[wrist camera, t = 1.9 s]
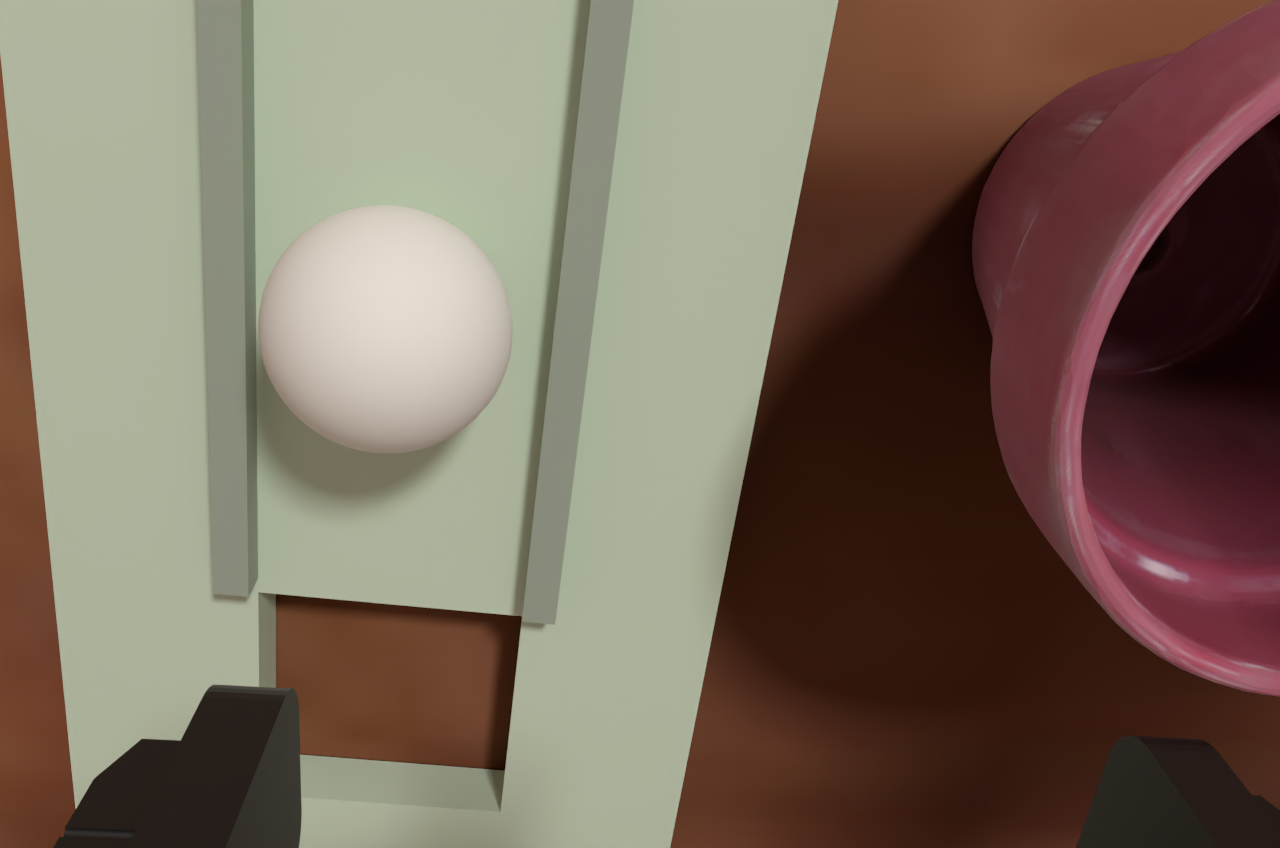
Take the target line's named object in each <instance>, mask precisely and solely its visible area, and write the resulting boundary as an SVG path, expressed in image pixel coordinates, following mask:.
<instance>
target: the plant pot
mask: <svg viewBox="0 0 1280 848" xmlns="http://www.w3.org/2000/svg"><path fill="white" fill-rule="evenodd" d="M972 264H973V271H974V278H975V283H976V287H977V291H978V294H979V296H980V299H981V301H982V304H983V307H984V311H985V314H986V317H987V321H988V324H989V327H990V331H991V334H992V338H993V346H992V356H991V370H990V388H991V402H992V414H993V419H994V425H995V430H996V435H997V439H998V443H999V447H1000V451H1001V455H1002V458H1003V461H1004V464H1005V467H1006V469H1007V472H1008V474H1009V477H1010V479H1011V481H1012V483H1013V485H1014V488H1015V490H1016V492H1017V494H1018V495H1019V497H1020V499H1021V501H1022V502H1023V504H1024V506H1025V508H1026V509H1027V511H1028V513H1029V515H1030V516H1031V517H1032V519H1033V520H1034V522H1035V523H1036V525H1037V526H1038V528H1039V529H1040V530H1041V532H1042V533H1043V535H1044V536H1045V538H1046V539H1047V540H1048V542H1049V543H1050V545H1051V546H1052V547H1053V548H1054V550H1055V551H1056V552H1057V553H1058V555H1059V556H1060V557H1061V558H1062V560H1063V561H1064V562H1065V563H1066V565H1067V566H1068V567H1069V569H1070V570H1071V571H1072V572H1073V574H1074V575H1075V576H1076V577H1077V579H1078V580H1079V581H1080V582H1081V584H1082V585H1083V586H1084V587H1085V589H1086V590H1087V591H1088V592H1089V593H1090V594H1091V596H1092V597H1093V598H1094V599H1095V600H1096V601H1097V602H1098V604H1099V605H1100V606H1101V607H1102V608H1103V609H1104V610H1105V612H1106V613H1107V614H1108V615H1109V616H1110V617H1111V618H1112V620H1113V621H1114V622H1115V623H1116V624H1118V625H1119V626H1120V627H1121V628H1122V629H1123V630H1124V631H1125V632H1126V633H1127V634H1129V635H1130V636H1131V637H1132V638H1134V639H1135V640H1136V641H1137V642H1139V643H1140V644H1141V645H1143V646H1144V647H1146V648H1147V649H1148V650H1150V651H1151V652H1153V653H1154V654H1156V655H1157V656H1159V657H1161V658H1162V659H1164V660H1166V661H1168V662H1169V663H1171V664H1173V665H1175V666H1177V667H1178V668H1180V669H1182V670H1185V671H1187V672H1189V673H1192V674H1194V675H1196V676H1199V677H1201V678H1204V679H1207V680H1209V681H1212V682H1214V683H1217V684H1221V685H1224V686H1228V687H1231V688H1235V689H1238V690H1242V691H1246V692H1252V693H1257V694H1262V695H1270V696H1278V697H1280V0H1275V1H1273V2H1270V3H1268V4H1266V5H1264V6H1261V7H1259V8H1257V9H1255V10H1253V11H1251V12H1249V13H1247V14H1245V15H1243V16H1241V17H1239V18H1236V19H1234V20H1232V21H1231V22H1229V23H1227V24H1225V25H1224V26H1222V27H1220V28H1218V29H1217V30H1215V31H1213V32H1212V33H1210V34H1208V35H1207V36H1205V37H1203V38H1202V39H1200V40H1198V41H1197V42H1195V43H1193V44H1192V45H1190V46H1189V47H1188V48H1186V49H1185V50H1183V51H1180V52H1176V53H1172V54H1169V55H1165V56H1162V57H1158V58H1154V59H1150V60H1147V61H1143V62H1139V63H1135V64H1130V65H1125V66H1121V67H1118V68H1115V69H1112V70H1108V71H1105V72H1103V73H1100V74H1098V75H1095V76H1093V77H1091V78H1088V79H1086V80H1084V81H1082V82H1080V83H1078V84H1076V85H1074V86H1073V87H1071V88H1069V89H1068V90H1066V91H1064V92H1063V93H1062V94H1060V95H1059V96H1057V97H1056V98H1054V99H1053V100H1051V101H1050V102H1049V103H1047V104H1046V105H1045V106H1044V107H1043V108H1041V109H1040V110H1039V111H1038V112H1037V113H1035V114H1034V115H1033V116H1032V117H1031V118H1030V119H1029V120H1028V121H1027V122H1026V124H1025V125H1024V126H1023V127H1022V128H1021V129H1020V130H1019V131H1018V132H1017V133H1016V135H1015V136H1014V137H1013V138H1012V139H1011V141H1010V142H1009V143H1008V145H1007V146H1006V148H1005V149H1004V151H1003V152H1002V154H1001V155H1000V157H999V159H998V160H997V162H996V163H995V165H994V167H993V169H992V171H991V173H990V176H989V178H988V180H987V182H986V184H985V186H984V188H983V191H982V194H981V197H980V200H979V204H978V208H977V212H976V216H975V221H974V228H973V237H972Z"/></svg>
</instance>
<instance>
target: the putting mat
mask: <svg viewBox="0 0 1280 848" xmlns="http://www.w3.org/2000/svg"><path fill="white" fill-rule="evenodd" d="M837 5H838V0H0V55H1V65H2V75H3V85H4V95H5V105H6V115H7V125H8V135H9V145H10V155H11V165H12V175H13V185H14V195H15V205H16V215H17V226H18V236H19V246H20V256H21V266H22V276H23V286H24V296H25V306H26V316H27V326H28V336H29V346H30V356H31V366H32V376H33V386H34V396H35V406H36V417H37V427H38V437H39V447H40V457H41V467H42V477H43V487H44V497H45V507H46V517H47V527H48V537H49V547H50V557H51V567H52V577H53V587H54V597H55V608H56V618H57V628H58V638H59V648H60V658H61V668H62V678H63V688H64V698H65V708H66V718H67V728H68V738H69V748H70V758H71V768H72V778H73V788H74V798H75V809H76V808H77V807H78V805H79V803H80V801H81V800H82V798H83V796H84V795H85V793H86V791H87V790H88V788H89V786H90V784H91V783H92V781H93V779H94V778H95V777H97V776H98V775H99V774H100V773H101V772H103V771H104V770H105V769H106V768H107V767H109V766H110V765H111V764H112V763H113V762H115V761H116V760H117V759H118V758H119V757H121V756H122V755H123V754H124V753H125V752H127V751H128V750H129V749H130V748H131V747H133V746H134V745H135V744H136V743H137V742H139V741H140V740H141V739H158V740H178V741H181V739H182V737H183V735H184V733H185V731H186V729H187V727H188V725H189V723H190V721H191V719H192V717H193V715H194V713H195V711H196V709H197V707H198V705H199V703H200V701H201V699H202V697H203V696H204V694H205V692H206V691H207V689H208V688H209V687H210V686H212V685H234V686H252V687H271V688H276V594H282V595H293V596H304V597H315V598H326V599H337V600H348V601H359V602H370V603H381V604H392V605H403V606H414V607H425V608H436V609H447V610H458V611H469V612H480V613H491V614H502V615H513V616H522V620H521V629H520V638H519V647H518V656H517V665H516V674H515V683H514V692H513V701H512V710H511V719H510V728H509V737H508V746H507V755H506V764H505V771H504V770H491V769H478V768H465V767H452V766H439V765H426V764H414V763H401V762H388V761H375V760H362V759H349V758H336V757H323V756H310V755H300V772H301V808H302V818H301V833H300V842H299V848H670V845H671V840H672V835H673V830H674V825H675V820H676V815H677V810H678V805H679V800H680V795H681V790H682V785H683V780H684V775H685V770H686V765H687V760H688V755H689V750H690V745H691V740H692V735H693V730H694V725H695V719H696V714H697V709H698V704H699V699H700V694H701V689H702V684H703V679H704V674H705V669H706V664H707V659H708V654H709V649H710V644H711V639H712V634H713V629H714V624H715V619H716V614H717V609H718V604H719V599H720V594H721V589H722V584H723V579H724V574H725V569H726V564H727V558H728V553H729V548H730V543H731V538H732V533H733V528H734V523H735V518H736V513H737V508H738V503H739V498H740V493H741V488H742V483H743V478H744V473H745V468H746V463H747V458H748V453H749V448H750V443H751V438H752V433H753V428H754V423H755V418H756V413H757V408H758V403H759V397H760V392H761V387H762V382H763V377H764V372H765V367H766V362H767V357H768V352H769V347H770V342H771V337H772V332H773V327H774V322H775V317H776V312H777V307H778V302H779V297H780V292H781V287H782V282H783V277H784V272H785V267H786V262H787V257H788V252H789V247H790V242H791V236H792V231H793V226H794V221H795V216H796V211H797V206H798V201H799V196H800V191H801V186H802V181H803V176H804V171H805V166H806V161H807V156H808V151H809V146H810V141H811V136H812V131H813V126H814V121H815V116H816V111H817V106H818V101H819V96H820V91H821V86H822V81H823V75H824V70H825V65H826V60H827V55H828V50H829V45H830V40H831V35H832V30H833V25H834V20H835V15H836V10H837ZM373 205H395V206H403V207H409V208H414V209H418V210H421V211H424V212H427V213H430V214H432V215H435V216H437V217H439V218H441V219H443V220H445V221H447V222H449V223H450V224H452V225H453V226H455V227H457V228H458V229H460V230H461V231H462V232H463V233H465V234H466V235H467V236H468V237H469V238H471V239H472V240H473V241H474V242H475V243H476V244H477V245H478V246H479V247H480V248H481V250H482V251H483V252H484V253H485V255H486V256H487V257H488V259H489V260H490V261H491V263H492V264H493V266H494V268H495V270H496V271H497V273H498V275H499V277H500V279H501V281H502V283H503V286H504V288H505V291H506V293H507V297H508V301H509V304H510V308H511V316H512V348H511V354H510V360H509V363H508V366H507V369H506V372H505V375H504V378H503V380H502V382H501V384H500V386H499V388H498V390H497V392H496V394H495V395H494V397H493V398H492V400H491V401H490V403H489V404H488V405H487V406H486V408H485V409H484V410H483V411H482V412H481V413H480V414H479V415H478V417H477V418H476V419H475V420H474V421H472V422H471V423H470V424H469V425H468V426H467V427H465V428H464V429H463V430H461V431H460V432H458V433H457V434H455V435H453V436H452V437H450V438H448V439H446V440H444V441H442V442H440V443H437V444H435V445H433V446H430V447H427V448H424V449H421V450H416V451H411V452H405V453H372V452H366V451H360V450H356V449H352V448H349V447H345V446H343V445H340V444H338V443H335V442H333V441H331V440H329V439H327V438H325V437H323V436H322V435H320V434H318V433H317V432H315V431H314V430H312V429H311V428H310V427H308V426H307V425H306V424H304V423H303V422H302V421H301V420H300V419H299V418H298V417H297V416H296V415H295V414H294V413H293V412H292V411H291V410H290V409H289V408H288V406H287V405H286V404H285V403H284V402H283V400H282V399H281V397H280V396H279V394H278V393H277V391H276V390H275V388H274V386H273V384H272V382H271V380H270V378H269V377H268V374H267V371H266V368H265V366H264V363H263V359H262V354H261V350H260V344H259V335H258V318H259V309H260V304H261V300H262V295H263V291H264V288H265V285H266V283H267V280H268V277H269V275H270V274H271V272H272V270H273V268H274V266H275V265H276V263H277V261H278V260H279V258H280V257H281V256H282V254H283V253H284V252H285V250H286V249H287V248H288V247H289V245H290V244H291V243H292V242H293V241H295V240H296V239H297V238H298V237H299V236H300V235H301V234H302V233H304V232H305V231H306V230H308V229H309V228H311V227H312V226H313V225H315V224H316V223H318V222H320V221H322V220H324V219H325V218H327V217H329V216H331V215H334V214H336V213H339V212H342V211H345V210H348V209H353V208H358V207H363V206H373Z"/></svg>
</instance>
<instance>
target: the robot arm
mask: <svg viewBox="0 0 1280 848" xmlns="http://www.w3.org/2000/svg"><path fill="white" fill-rule="evenodd" d="M301 818H302V808H301V772H300V736H299V705H298V697H297V693H296V691H295V690H294V689H290V688H271V687H252V686H234V685H212V686H210V687H209V688H208V689H207V691H206V692H205V694H204V696H203V697H202V699H201V701H200V703H199V705H198V707H197V709H196V711H195V713H194V715H193V717H192V719H191V721H190V723H189V725H188V727H187V729H186V731H185V733H184V735H183V737H182V739H181V741H178V740H158V739H141V740H140V741H139V742H137V743H136V744H135V745H134V746H133V747H131V748H130V749H129V750H128V751H127V752H125V753H124V754H123V755H122V756H121V757H119V758H118V759H117V760H116V761H115V762H113V763H112V764H111V765H110V766H109V767H107V768H106V769H105V770H104V771H103V772H101V773H100V774H99V775H98V776H97V777H95V778H94V779H93V781H92V783H91V784H90V786H89V788H88V790H87V791H86V793H85V795H84V796H83V798H82V800H81V801H80V803H79V805H78V807H77V808H76V810H75V812H74V813H73V815H72V817H71V819H70V820H69V822H68V824H67V825H66V827H65V834H64V837H59V839H58V841H57V842H56V844H55V846H54V847H53V848H299V842H300V833H301ZM1076 848H1280V811H1279V810H1278V809H1277V808H1276V807H1274V806H1273V805H1272V804H1270V803H1269V802H1268V801H1266V800H1265V799H1264V798H1263V797H1261V796H1253V795H1251V794H1250V792H1249V791H1248V790H1247V788H1246V787H1245V786H1244V785H1243V783H1242V782H1241V781H1240V780H1239V778H1238V777H1237V776H1236V774H1235V773H1234V772H1233V771H1232V769H1231V768H1230V767H1229V766H1228V764H1227V763H1226V762H1225V761H1224V759H1223V758H1222V757H1221V755H1220V754H1219V753H1218V752H1217V751H1216V750H1215V749H1214V747H1212V746H1211V745H1210V744H1209V743H1207V742H1205V741H1203V740H1198V739H1183V738H1164V737H1145V736H1124V737H1122V738H1120V739H1119V740H1118V741H1117V742H1116V743H1115V744H1114V746H1113V747H1112V750H1111V752H1110V754H1109V757H1108V760H1107V762H1106V765H1105V768H1104V771H1103V774H1102V777H1101V779H1100V782H1099V785H1098V788H1097V791H1096V793H1095V796H1094V799H1093V802H1092V805H1091V807H1090V810H1089V813H1088V816H1087V819H1086V822H1085V824H1084V827H1083V830H1082V833H1081V836H1080V838H1079V841H1078V844H1077V847H1076Z"/></svg>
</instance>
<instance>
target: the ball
mask: <svg viewBox="0 0 1280 848" xmlns="http://www.w3.org/2000/svg"><path fill="white" fill-rule="evenodd" d="M258 335H259V344H260V350H261V354H262V359H263V363H264V366H265V368H266V371H267V374H268V377H269V378H270V380H271V382H272V384H273V386H274V388H275V390H276V391H277V393H278V394H279V396H280V397H281V399H282V400H283V402H284V403H285V404H286V405H287V406H288V408H289V409H290V410H291V411H292V412H293V413H294V414H295V415H296V416H297V417H298V418H299V419H300V420H301V421H302V422H303V423H304V424H306V425H307V426H308V427H310V428H311V429H312V430H314V431H315V432H317V433H318V434H320V435H322V436H323V437H325V438H327V439H329V440H331V441H333V442H335V443H338V444H340V445H343V446H345V447H349V448H352V449H356V450H360V451H366V452H372V453H405V452H411V451H416V450H421V449H424V448H427V447H430V446H433V445H435V444H437V443H440V442H442V441H444V440H446V439H448V438H450V437H452V436H453V435H455V434H457V433H458V432H460V431H461V430H463V429H464V428H465V427H467V426H468V425H469V424H470V423H471V422H472V421H474V420H475V419H476V418H477V417H478V415H479V414H480V413H481V412H482V411H483V410H484V409H485V408H486V406H487V405H488V404H489V403H490V401H491V400H492V398H493V397H494V395H495V394H496V392H497V390H498V388H499V386H500V384H501V382H502V380H503V378H504V375H505V372H506V369H507V366H508V363H509V360H510V354H511V348H512V316H511V308H510V304H509V301H508V297H507V293H506V291H505V288H504V286H503V283H502V281H501V279H500V277H499V275H498V273H497V271H496V270H495V268H494V266H493V264H492V263H491V261H490V260H489V259H488V257H487V256H486V255H485V253H484V252H483V251H482V250H481V248H480V247H479V246H478V245H477V244H476V243H475V242H474V241H473V240H472V239H471V238H469V237H468V236H467V235H466V234H465V233H463V232H462V231H461V230H460V229H458V228H457V227H455V226H453V225H452V224H450V223H449V222H447V221H445V220H443V219H441V218H439V217H437V216H435V215H432V214H430V213H427V212H424V211H421V210H418V209H414V208H409V207H403V206H395V205H373V206H363V207H358V208H353V209H348V210H345V211H342V212H339V213H336V214H334V215H331V216H329V217H327V218H325V219H324V220H322V221H320V222H318V223H316V224H315V225H313V226H312V227H311V228H309V229H308V230H306V231H305V232H304V233H302V234H301V235H300V236H299V237H298V238H297V239H296V240H295V241H293V242H292V243H291V244H290V245H289V247H288V248H287V249H286V250H285V252H284V253H283V254H282V256H281V257H280V258H279V260H278V261H277V263H276V265H275V266H274V268H273V270H272V272H271V274H270V275H269V277H268V280H267V283H266V285H265V288H264V291H263V295H262V300H261V304H260V309H259V318H258Z"/></svg>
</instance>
